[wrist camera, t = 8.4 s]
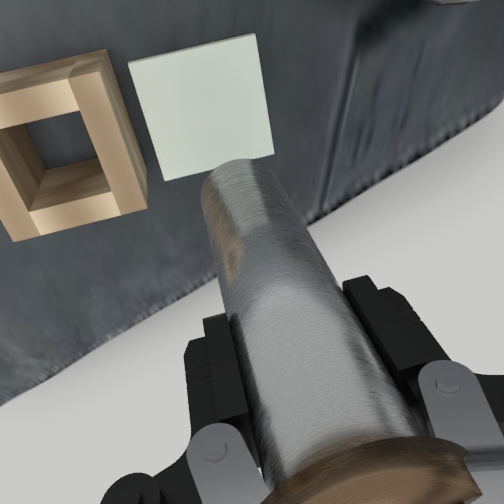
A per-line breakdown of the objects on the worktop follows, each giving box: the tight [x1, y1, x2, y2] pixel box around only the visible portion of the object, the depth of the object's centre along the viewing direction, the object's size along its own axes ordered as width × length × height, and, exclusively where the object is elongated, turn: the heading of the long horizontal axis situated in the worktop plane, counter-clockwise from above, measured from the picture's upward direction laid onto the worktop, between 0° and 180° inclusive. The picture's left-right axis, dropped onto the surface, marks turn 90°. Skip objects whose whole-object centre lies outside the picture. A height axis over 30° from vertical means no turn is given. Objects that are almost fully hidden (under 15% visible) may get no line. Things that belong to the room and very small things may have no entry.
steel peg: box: [201, 158, 483, 504], centre depth 15 cm, size 5×5×15 cm
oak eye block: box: [0, 49, 147, 242], centre depth 28 cm, size 8×8×6 cm
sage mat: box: [128, 33, 274, 181], centre depth 31 cm, size 8×8×1 cm
